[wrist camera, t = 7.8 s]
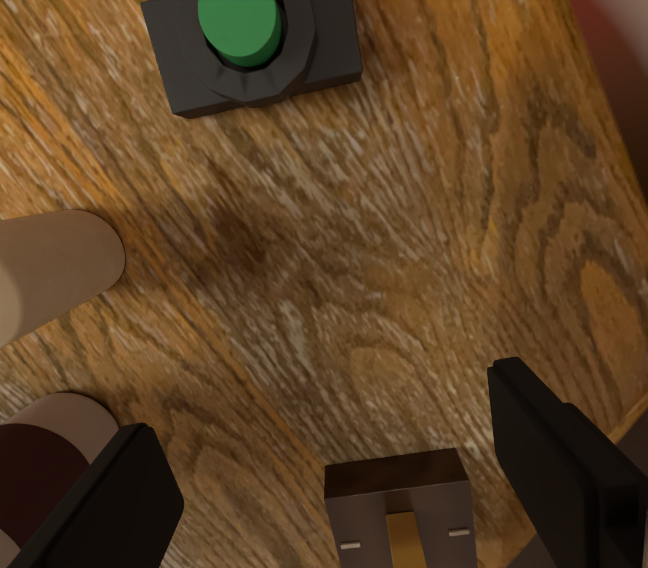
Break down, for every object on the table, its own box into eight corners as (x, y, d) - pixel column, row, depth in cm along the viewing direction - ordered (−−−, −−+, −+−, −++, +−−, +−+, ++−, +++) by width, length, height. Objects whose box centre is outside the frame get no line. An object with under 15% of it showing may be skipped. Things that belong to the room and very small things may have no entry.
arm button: (272, -24, 16) (265, -46, 14) (289, 58, 17) (284, 47, 15) (202, -6, 16) (187, -26, 15) (222, 74, 17) (210, 64, 16)
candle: (48, 289, 25) (-131, 368, 15) (33, 205, 23) (-180, 234, 13) (130, 294, 25) (3, 376, 15) (121, 211, 23) (-29, 244, 13)
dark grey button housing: (342, -40, 19) (344, -92, 15) (361, 91, 21) (368, 75, 17) (156, 7, 20) (113, -31, 16) (190, 129, 21) (159, 121, 18)
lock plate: (455, 447, 28) (470, 482, 25) (464, 535, 30) (479, 576, 27) (324, 465, 29) (323, 501, 26) (345, 549, 31) (346, 590, 28)
